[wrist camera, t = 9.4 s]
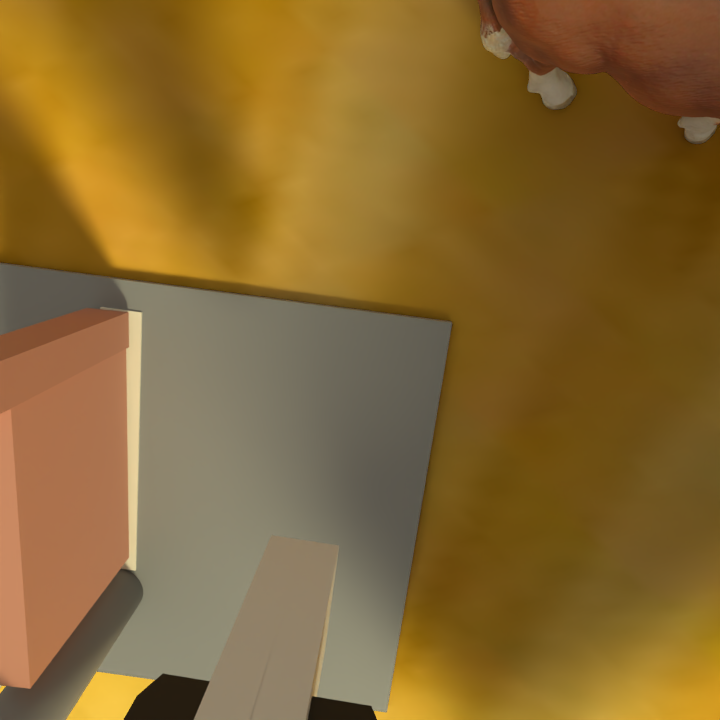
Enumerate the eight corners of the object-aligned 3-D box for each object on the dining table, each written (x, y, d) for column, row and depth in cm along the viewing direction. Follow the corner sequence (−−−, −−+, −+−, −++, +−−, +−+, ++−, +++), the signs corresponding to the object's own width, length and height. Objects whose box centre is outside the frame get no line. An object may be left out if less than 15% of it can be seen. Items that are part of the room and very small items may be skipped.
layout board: (451, 321, 19) (452, 323, 18) (386, 706, 23) (386, 713, 23) (-194, 237, 19) (-205, 237, 19) (-144, 631, 23) (-152, 637, 23)
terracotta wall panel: (86, 307, 19) (-77, 359, 12) (128, 312, 19) (-13, 366, 12) (94, 553, 21) (-39, 708, 14) (131, 557, 21) (14, 714, 14)
